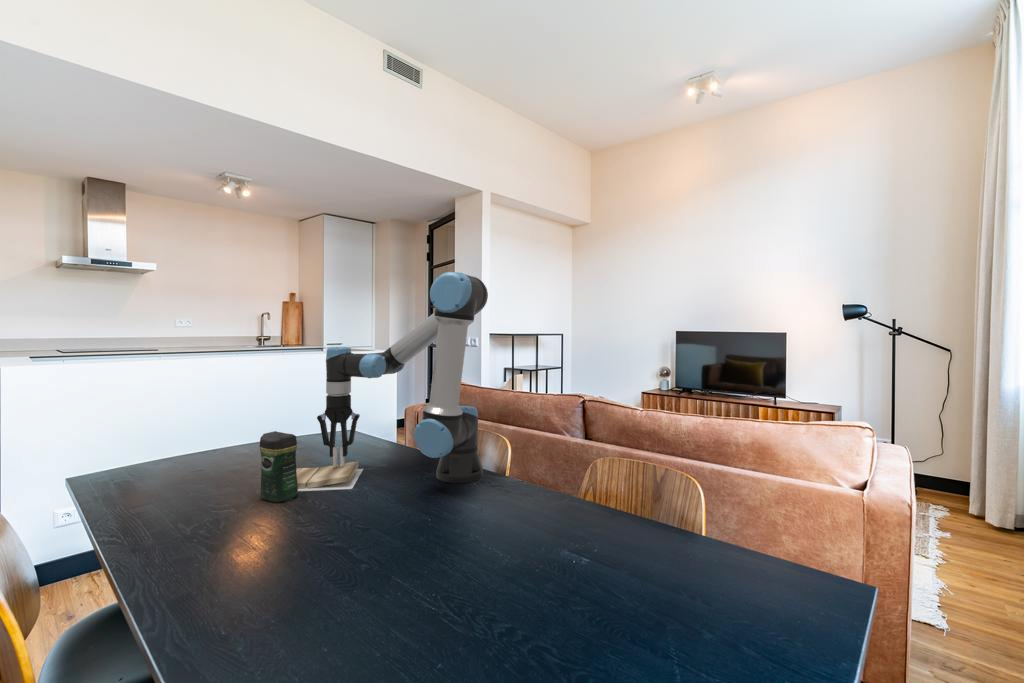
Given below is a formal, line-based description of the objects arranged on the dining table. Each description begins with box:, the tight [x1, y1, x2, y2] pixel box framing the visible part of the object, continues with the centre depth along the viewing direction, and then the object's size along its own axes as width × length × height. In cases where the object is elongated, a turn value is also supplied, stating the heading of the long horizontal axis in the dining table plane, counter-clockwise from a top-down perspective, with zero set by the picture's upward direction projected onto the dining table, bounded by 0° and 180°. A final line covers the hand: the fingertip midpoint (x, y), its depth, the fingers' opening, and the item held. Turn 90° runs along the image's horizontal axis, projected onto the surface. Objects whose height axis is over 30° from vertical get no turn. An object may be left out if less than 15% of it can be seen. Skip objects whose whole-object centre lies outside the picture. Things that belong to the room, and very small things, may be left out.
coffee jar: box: [259, 430, 299, 503], centre depth 131 cm, size 10×8×19 cm
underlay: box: [298, 468, 364, 492], centre depth 147 cm, size 25×20×1 cm
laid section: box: [296, 467, 320, 489], centre depth 145 cm, size 11×16×2 cm
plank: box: [307, 460, 359, 488], centre depth 147 cm, size 12×16×2 cm
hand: (338, 466), depth 151 cm, fingers open, 1 cm apart
